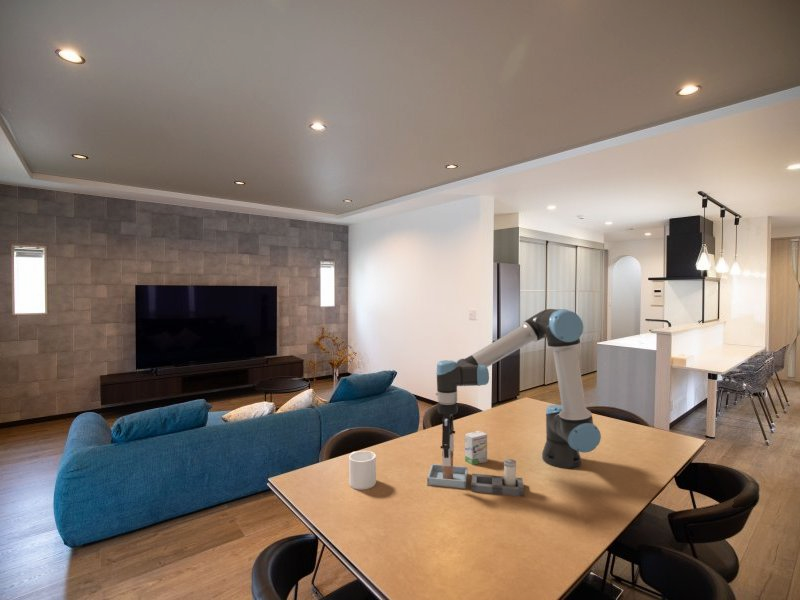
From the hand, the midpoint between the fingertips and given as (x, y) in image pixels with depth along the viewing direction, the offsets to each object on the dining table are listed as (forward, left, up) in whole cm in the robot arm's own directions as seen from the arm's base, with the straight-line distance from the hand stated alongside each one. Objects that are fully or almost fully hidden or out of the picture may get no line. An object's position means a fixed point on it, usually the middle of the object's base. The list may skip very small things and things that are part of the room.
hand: (448, 458), depth 145 cm
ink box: (-10, -19, -9) cm, 23 cm away
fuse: (-22, +3, -8) cm, 24 cm away
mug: (+32, +8, -9) cm, 34 cm away
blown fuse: (0, 0, -8) cm, 8 cm away
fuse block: (-18, +3, -8) cm, 20 cm away
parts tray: (0, 0, -8) cm, 8 cm away
